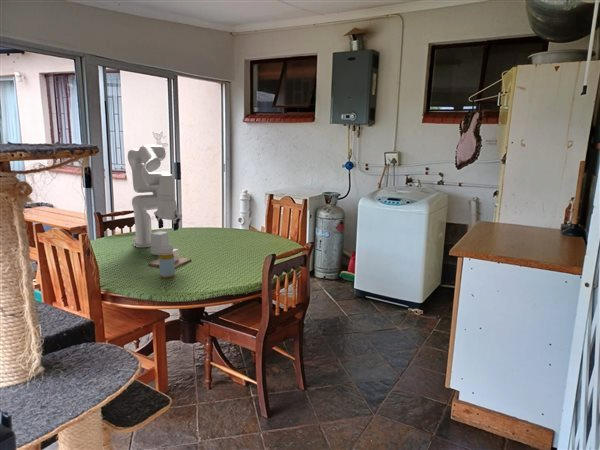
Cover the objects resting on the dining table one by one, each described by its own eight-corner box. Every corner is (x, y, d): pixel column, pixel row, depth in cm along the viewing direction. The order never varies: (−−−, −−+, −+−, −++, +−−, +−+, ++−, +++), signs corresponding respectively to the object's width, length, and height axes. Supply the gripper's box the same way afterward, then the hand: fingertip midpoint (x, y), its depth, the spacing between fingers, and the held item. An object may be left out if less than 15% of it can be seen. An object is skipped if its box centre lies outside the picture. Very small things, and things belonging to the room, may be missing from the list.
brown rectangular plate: (148, 265, 223) (147, 256, 222) (167, 257, 238) (167, 248, 237) (173, 269, 218) (172, 259, 217) (191, 261, 233) (191, 252, 231)
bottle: (161, 274, 210) (160, 245, 207) (176, 273, 211) (174, 245, 208) (158, 278, 204) (156, 249, 200) (173, 278, 204) (171, 249, 201)
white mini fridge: (161, 262, 225) (160, 250, 224) (170, 258, 232) (169, 247, 231) (170, 263, 223) (169, 251, 222) (178, 259, 230) (178, 248, 229)
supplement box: (169, 252, 248) (168, 231, 245) (161, 255, 241) (160, 234, 238) (159, 251, 250) (158, 230, 248) (151, 254, 243) (149, 233, 241)
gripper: (149, 197, 220) (150, 228, 224) (176, 200, 214) (177, 232, 218) (158, 195, 227) (159, 225, 231) (185, 198, 221) (186, 229, 225)
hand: (168, 229), depth 224 cm, fingers open, 9 cm apart
